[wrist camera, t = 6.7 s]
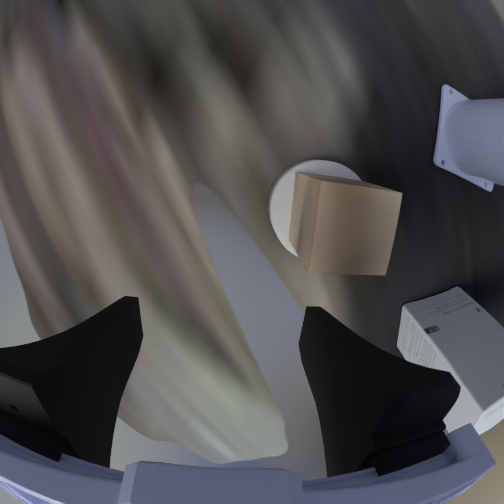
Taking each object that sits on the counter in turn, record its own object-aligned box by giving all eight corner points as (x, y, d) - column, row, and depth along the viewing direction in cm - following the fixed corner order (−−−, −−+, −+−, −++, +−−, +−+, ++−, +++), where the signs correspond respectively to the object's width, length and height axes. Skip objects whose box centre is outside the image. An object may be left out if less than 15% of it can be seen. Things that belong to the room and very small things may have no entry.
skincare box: (457, 284, 25) (547, 361, 11) (448, 327, 27) (520, 407, 13) (397, 305, 25) (486, 412, 11) (392, 350, 27) (458, 453, 13)
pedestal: (364, 171, 20) (379, 174, 18) (343, 255, 22) (355, 267, 20) (277, 150, 19) (283, 150, 17) (259, 242, 21) (263, 254, 19)
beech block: (359, 180, 18) (402, 193, 13) (349, 243, 19) (385, 275, 14) (295, 171, 17) (321, 180, 12) (288, 239, 19) (308, 273, 14)
